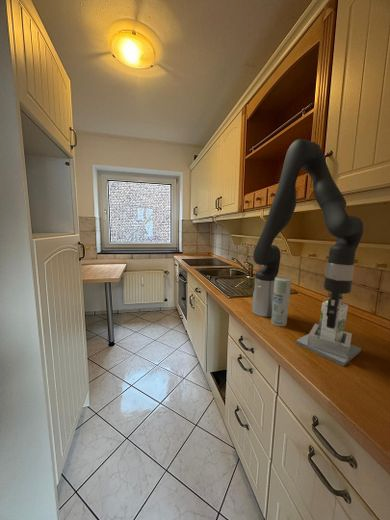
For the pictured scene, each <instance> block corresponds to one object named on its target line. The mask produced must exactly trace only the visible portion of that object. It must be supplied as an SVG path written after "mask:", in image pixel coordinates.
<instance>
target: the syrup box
mask: <svg viewBox="0 0 390 520" xmlns="http://www.w3.org/2000/svg"><path fill="white" fill-rule="evenodd" d="M327 304H328V300H324V301H323V302H321V309H320V315H319V322H318V324H319V328H318V334H317V335H318V336H321V337H324V338H327V339H331V340H334V341H337V342H340V343H342V339H343V333H344V332H345V327H346V322H347V321H346V320H347V316H348V315H347V314H348V309H349V304H347V303H344V302H342V303H341V304H340V307H338V306H337V308H338V309H339V311H337V317H336V320H335V327H334V329H332V328H328V327H327V326H326V325H327V318H328V316H327V315H326V313H327ZM330 313H332V314H334V311H332V310H330Z"/></svg>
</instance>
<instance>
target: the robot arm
mask: <svg viewBox="0 0 390 520" xmlns="http://www.w3.org/2000/svg"><path fill="white" fill-rule="evenodd" d="M285 154H286V155H285V158H284V162H283V165H282V169H281V174H280V178H279V181H278V184H277V188H276V191H275V195H274V197H273V200H272V203H271V205H270V208H269V211H268V215H267V217H266V221H265V224H264V227H263V229H262V232H261V234H260V236H259V238H258V241H257V243H256V246H255V247H254V250H253V256H252V257H253V261H254V263H255V264H256V265H258V266H259V265H260V266H263V267H261V269H259V270H257V271H256V272H255V277H254V279H255V280H254V291H253V292H252V302H251V311H252V313H253V314H254V315H256V316H258V317H264V318H265V317H266V318H267V317H270V318H271V317H272V306H273V295H274V283H275V277H278V274H279V271H280V265H281V264H280V263H281V255H282V254H281V250H280V248H279V246H277V245H275V244H273V243H274V240H275V239H276V237H277V236H278V235H279V234H280V233H281V232H282V231H283V230H284V229H285V228H286V226H288V224H289V223H290V221H291V219H292V217H293V215H294V212H295V210H296V207H297V192H296V189H297V187H296V186H297V185H296V184H297V180H298V176H299V173H300V172H301V170H304V171H305V172H307V174H308V175H309V177H310V179H311V181H312V186H313V187H312V188H313V189H312V190H313V195H314V198H315V200H316V202H317V204H318V206H319V208H320V210H321V211H322V214H323V218H324V219H323V220H324V224H325V228H326V229H327V231H328V233H329V234H330V235H331V236H333V237H335V238H337V240H336V243H334V244H333V245H332V246H331V247H330V248H329V252H328V259H327V264H326V268H325V273H324V274H325V275H324V281H323V282H324V283H323V290H325V291H327V292H330V293H329V294H328V296H327V301H328V304H327V313H326V315H327V316H328V318H327V325H326V326H327V327H328V328H332V329H334V327H335V320H336V317H337V311H339V309H338V308H337V306H338V307H340V304H341V303H343V300H344V296H343V294H344V295H346V294H350V293H351V291H352V284H353V278H354V270H355V269H354V266H355V259H356V252H357V249H358V247H359V244H360V242H361V239H362V237H363V233H364V227H365V226H364V222H363V220H362V218H360V217H358V216H355V215H349V214H348V212H347V210H346V206H347V201H346V198H345V197H344V195H343V194H342V192H341V190H340V189H339V187H338V186H337V184H336V182H335V180H334V178H333V176H332V173H331V172H330V169H329V167H328V164H327V162H326V159H325V156H324V153H323V149H322V147H321V146H320V145H319V144H318V142H314V141H310V140H307V139H304V138H297V139H296V140H294V141H293V142H292V143H291V144H290V145H289V147H288V149H287V151H286V153H285ZM330 310H332V311H334V314H332V313H330Z"/></svg>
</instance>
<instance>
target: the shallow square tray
mask: <svg viewBox="0 0 390 520" xmlns="http://www.w3.org/2000/svg"><path fill="white" fill-rule="evenodd" d="M318 328H319V323H314V324H313V326H312V328H311V330H310V331H309V333H308V334H309V335H308V343H307V345H308V346H311V347H314V348H317V349H320V350H322V351H325V352H328V353H331V354H334V355H337V356H340V357H343V358H346V359H348V355H349V349H350V344H351V343H352V337H353V336H352V335H353V334H352V333H351V332H347V331H344V333H343V339H342V343H340V342H337V341H334V340H331V339H327V338H324V337H321V336H318V335H317V334H318Z"/></svg>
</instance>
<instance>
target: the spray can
mask: <svg viewBox="0 0 390 520" xmlns="http://www.w3.org/2000/svg"><path fill="white" fill-rule="evenodd" d="M291 286H292V279H291V278H290V277H284V276H276V277H275V283H274V295H273V306H272V316H271V317H270V318H271V319H270V322H271V324H272V325H275V326H277V327H286V326H287V324H288V315H289V314H288V313H289V307H290V305H289V304H290V296H291V288H292V287H291Z"/></svg>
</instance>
